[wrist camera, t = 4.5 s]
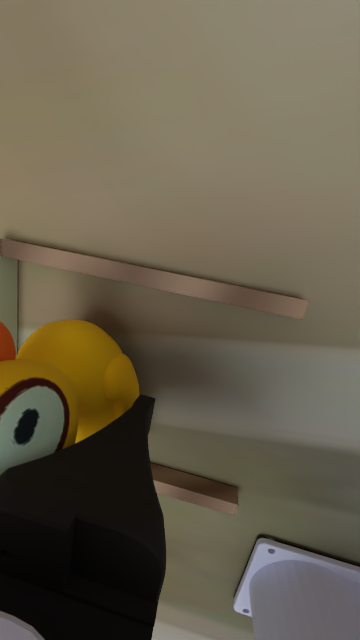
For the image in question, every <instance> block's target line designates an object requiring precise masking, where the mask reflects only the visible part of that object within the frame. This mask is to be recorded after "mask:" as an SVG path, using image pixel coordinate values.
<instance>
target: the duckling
mask: <svg viewBox="0 0 360 640" xmlns="http://www.w3.org/2000/svg"><path fill="white" fill-rule="evenodd" d="M15 358H16V359H15ZM138 396H139V383H138V379H137V376H136V373H135V370H134V367H133V364H132V362H131V360H130V359H129V358H128V356H126V355H125V354H123V353H122V351H121V349H120V347H119V346H118V344H117V343H116V342H115V341H114V340H113V339H112V338H111V337H110V336H109V335H108V334H107V333H106V332H105V331H103V330H102V329H101V328H99V327H98V326H96V325H94V324H92V323H90V322H87V321H82V320H63V321H56V322H52V323H49V324H46V325H44V326H42V327H41V328H39V329H38V330H36V331H35V332H34V333H33V334H32V335H30V336H29V338H28V339H27V340H26V341H25V342H24V343H23V345H22V346H21V348H20V350H19V352H18V354H17V357H16V348H15V344H14V340H13V337H12V335H11V333H10V331H9V330H8V329H7V327H6V326H5V325H4V324H3V323H2V322H1V321H0V475H1V474H2V473H3V472H5V471H6V470H7V469H8V468H10V467H14V466H17V465H20V464H23V463H26V462H29V461H33V460H36V459H39V458H42V457H44V456H47V455H50V454H52V453H55V452H57V451H60V450H62V449H64V448H67V447H69V446H71V445H73V444H75V443H77V442H79V441H81V440H83V439H85V438H87V437H89V436H90V435H92V434H94V433H96V432H97V431H99V430H101V429H102V428H104V427H105V426H107V425H108V424H110V423H111V422H112V421H114V420H115V419H117V418H118V417H119V416H121V415H122V414H123V413H125V412H126V411H127V410H128V409H130V408H131V407H132V405H133V403H134V401H135V400H136V399H137V398H138Z"/></svg>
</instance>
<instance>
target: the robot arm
mask: <svg viewBox="0 0 360 640" xmlns="http://www.w3.org/2000/svg"><path fill="white" fill-rule="evenodd" d="M154 404H155V398H152V397H148V396H144V395H139V396H138V398H137V399H136V400H135V401H134V403H133V405H132V407H131V408H130V409H128V410H127V411H126V412H125V413H123V414H122V415H121V416H119V417H118V418H117V419H115V420H114V421H112V422H111V423H110V424H108V425H107V426H105V427H104V428H102V429H101V430H99V431H97V432H96V433H94V434H92V435H90V436H89V437H87V438H85V439H83V440H81V441H79V442H77V443H75V444H73V445H71V446H69V447H67V448H64V449H62V450H60V451H57V452H55V453H52V454H50V455H47V456H44V457H42V458H39V459H36V460H33V461H29V462H26V463H23V464H20V465H17V466H14V467H10V468H8V469H7V470H6V471H5V472H3V473H2V474H1V475H0V640H151V638H152V632H153V627H154V623H155V618H156V612H157V605H158V600H159V596H160V592H161V588H162V585H163V581H164V577H165V570H166V542H165V529H164V518H163V513H162V510H161V507H160V504H159V500H158V497H157V493H156V489H155V485H154V481H153V476H152V471H151V465H150V458H149V450H148V433H149V430H150V424H151V419H152V414H153V409H154ZM233 607H234V609H235V611H237V612H239V613H242V614H245V615H248V616H251V617H252V622H253V630H254V638H255V640H360V567H358V566H355V565H351V564H348V563H345V562H342V561H338V560H335V559H332V558H328V557H325V556H322V555H319V554H315V553H312V552H309V551H305V550H302V549H299V548H296V547H292V546H289V545H286V544H282V543H279V542H276V541H273V540H269V539H266V538H260V539H258V540H257V542H256V544H255V547H254V549H253V552H252V554H251V557H250V559H249V562H248V565H247V567H246V570H245V572H244V575H243V577H242V580H241V582H240V585H239V587H238V590H237V592H236V595H235V597H234V600H233Z"/></svg>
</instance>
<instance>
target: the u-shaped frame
mask: <svg viewBox="0 0 360 640" xmlns="http://www.w3.org/2000/svg"><path fill="white" fill-rule="evenodd" d="M18 260H22V261H27V262H31V263H36V264H41V265H46V266H50V267H55V268H60V269H65V270H69V271H74V272H79V273H84V274H88V275H93V276H98V277H102V278H107V279H112V280H117V281H121V282H126V283H131V284H136V285H140V286H145V287H150V288H155V289H159V290H164V291H169V292H174V293H178V294H183V295H188V296H192V297H197V298H202V299H207V300H211V301H216V302H221V303H226V304H230V305H235V306H240V307H245V308H249V309H254V310H259V311H264V312H268V313H273V314H278V315H282V316H287V317H292V318H297V319H301V320H303V317H304V315H305V312H306V309H307V306H308V303H309V301H307V300H304V299H301V298H297V297H292V296H287V295H282V294H277V293H272V292H267V291H262V290H257V289H252V288H247V287H242V286H237V285H232V284H227V283H223V282H218V281H213V280H208V279H203V278H198V277H193V276H188V275H183V274H178V273H173V272H168V271H163V270H158V269H153V268H148V267H144V266H139V265H134V264H129V263H124V262H119V261H114V260H109V259H104V258H99V257H94V256H89V255H84V254H79V253H74V252H70V251H65V250H60V249H55V248H50V247H45V246H40V245H35V244H30V243H25V242H20V241H15V240H10V239H5V238H0V321H1V322H2V323H3V324H4V325H5V326H6V327H7V329H8V330H9V331H10V333H11V335H12V337H13V340H14V344H15V348H16V357H17V317H18ZM15 359H16V358H15ZM150 465H151V471H152V476H153V481H154V485H155V489H156V493H160V494H163V495H166V496H170V497H173V498H176V499H180V500H183V501H186V502H190V503H193V504H196V505H200V506H203V507H207V508H210V509H213V510H217V511H220V512H223V513H227V514H230V515H233V516H235V514H236V511H237V508H238V505H239V504H238V496H237V488H236V487H233V486H229V485H226V484H222V483H219V482H215V481H212V480H208V479H205V478H202V477H198V476H195V475H191V474H188V473H184V472H181V471H177V470H174V469H170V468H167V467H163V466H160V465H156V464H153V463H150Z"/></svg>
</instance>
